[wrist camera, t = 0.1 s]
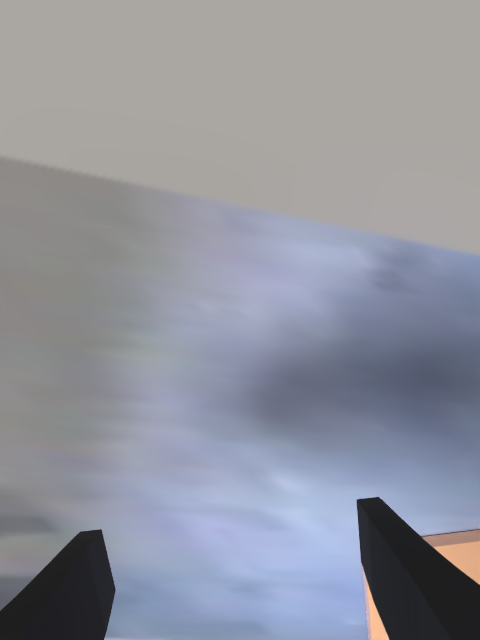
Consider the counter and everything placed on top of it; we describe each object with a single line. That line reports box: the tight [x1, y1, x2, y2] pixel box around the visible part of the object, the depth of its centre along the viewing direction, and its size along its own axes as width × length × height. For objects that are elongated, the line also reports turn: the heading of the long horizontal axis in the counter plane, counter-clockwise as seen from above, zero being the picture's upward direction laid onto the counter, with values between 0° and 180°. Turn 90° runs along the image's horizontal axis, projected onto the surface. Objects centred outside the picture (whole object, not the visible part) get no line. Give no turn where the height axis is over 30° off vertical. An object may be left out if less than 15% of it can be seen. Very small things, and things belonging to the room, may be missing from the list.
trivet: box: [362, 530, 480, 640], centre depth 24 cm, size 10×10×1 cm
